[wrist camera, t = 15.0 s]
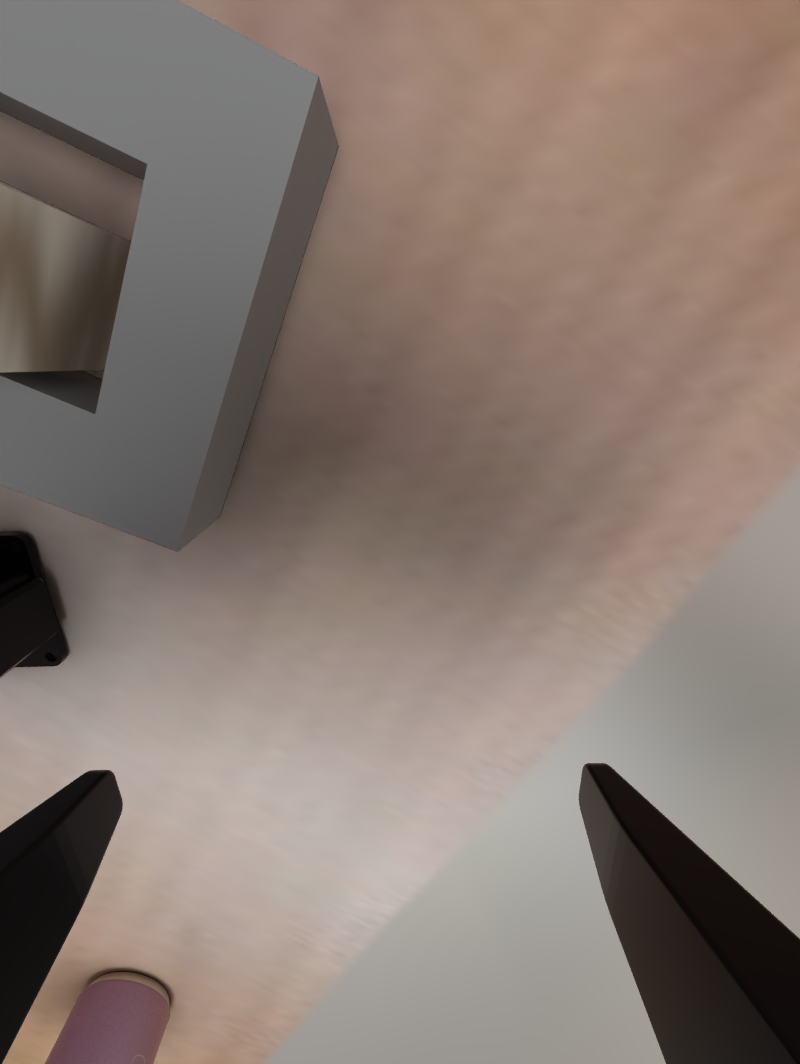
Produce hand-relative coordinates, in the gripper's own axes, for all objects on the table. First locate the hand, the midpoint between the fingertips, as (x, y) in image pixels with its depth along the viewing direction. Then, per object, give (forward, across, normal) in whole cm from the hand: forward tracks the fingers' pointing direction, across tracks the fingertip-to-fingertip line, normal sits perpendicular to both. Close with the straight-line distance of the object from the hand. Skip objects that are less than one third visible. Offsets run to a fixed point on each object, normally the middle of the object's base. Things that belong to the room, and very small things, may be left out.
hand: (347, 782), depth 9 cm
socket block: (+12, +10, -11) cm, 19 cm away
